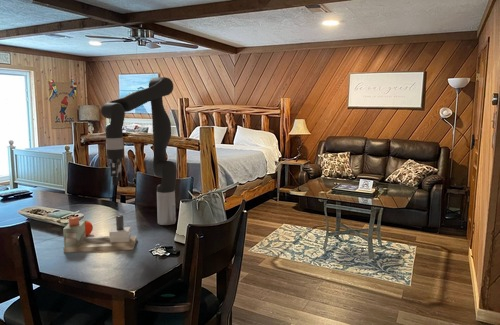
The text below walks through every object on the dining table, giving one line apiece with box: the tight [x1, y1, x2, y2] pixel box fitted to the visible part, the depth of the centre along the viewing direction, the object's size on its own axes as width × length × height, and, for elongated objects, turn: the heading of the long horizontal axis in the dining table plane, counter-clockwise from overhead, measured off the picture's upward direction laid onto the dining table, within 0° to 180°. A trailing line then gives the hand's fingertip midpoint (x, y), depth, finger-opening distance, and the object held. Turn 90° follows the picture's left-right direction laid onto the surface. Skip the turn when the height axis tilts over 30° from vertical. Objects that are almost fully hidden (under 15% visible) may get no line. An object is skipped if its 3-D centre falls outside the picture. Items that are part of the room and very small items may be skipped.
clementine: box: [84, 220, 94, 237], centre depth 181 cm, size 8×7×7 cm
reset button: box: [68, 216, 80, 226], centre depth 164 cm, size 4×4×3 cm
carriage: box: [108, 214, 132, 243], centre depth 168 cm, size 8×6×11 cm
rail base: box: [62, 220, 138, 253], centre depth 167 cm, size 28×12×10 cm, turn 99°
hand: (117, 183), depth 174 cm, fingers open, 8 cm apart
